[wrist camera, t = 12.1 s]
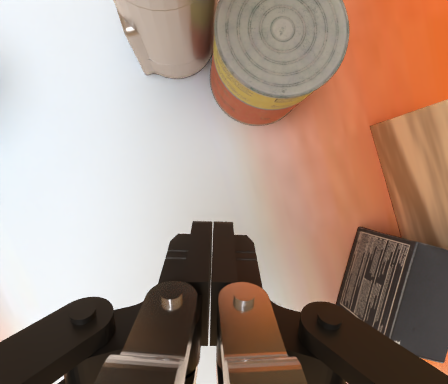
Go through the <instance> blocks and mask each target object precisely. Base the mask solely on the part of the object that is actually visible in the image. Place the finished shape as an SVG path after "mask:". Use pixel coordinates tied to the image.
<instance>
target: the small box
mask: <svg viewBox="0 0 448 384" xmlns="http://www.w3.org/2000/svg"><path fill="white" fill-rule="evenodd" d="M336 305H338V306H340V307H342V308H343V309H345V310H347V311H348V312H350V313H351V314H353V315H354V316H356V317H358V318H359V319H361V320H362V321H364V322H365V323H367V324H368V325H370V326H372V327H373V328H375V329H376V330H378V331H379V332H381V333H382V334H384V335H385V336H387V337H389V338H390V339H392V340H393V341H395V342H396V343H398V344H399V345H401V346H403V347H404V348H406V349H407V350H409V351H410V352H412V353H413V354H415V355H416V356H418V357H420V358H423V359H427V360H431V361H436V362H440V363H444V362H445V358H446V354H447V351H448V250H446V249H443V248H439V247H436V246H432V245H429V244H425V243H422V242H417V241H412V240H408V239H404V238H400V237H396V236H392V235H388V234H384V233H380V232H377V231H373V230H370V229H366V228H363V227H358V230H357V234H356V237H355V240H354V244H353V247H352V251H351V254H350V258H349V261H348V265H347V268H346V272H345V275H344V279H343V282H342V286H341V289H340V293H339V296H338V300H337V303H336Z"/></svg>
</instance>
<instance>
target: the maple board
mask: <svg viewBox="0 0 448 384" xmlns="http://www.w3.org/2000/svg"><path fill="white" fill-rule="evenodd" d="M370 128H371V132H372V135H373V139H374V142H375V146H376V149H377V153H378V156H379V160H380V163H381V167H382V170H383V174H384V177H385V181H386V184H387V188H388V191H389V195H390V198H391V202H392V205H393V209H394V212H395V216H396V219H397V223H398V226H399V230H400V233H401V237H402V238H404V239H408V240H412V241H417V242H422V243H425V244H429V245H432V246H436V247H439V248H443V249H446V250H448V100H445V101H442V102H439V103H436V104H433V105H430V106H427V107H424V108H422V109H419V110H416V111H413V112H410V113H407V114H404V115H401V116H398V117H395V118H393V119H390V120H387V121H384V122H381V123H378V124H375V125H372V126H370Z"/></svg>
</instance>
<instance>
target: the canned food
mask: <svg viewBox="0 0 448 384" xmlns="http://www.w3.org/2000/svg"><path fill="white" fill-rule="evenodd" d="M348 41H349V21H348V15H347V11H346V8H345V5H344V3H343V0H219V2H218V5H217V8H216V13H215V20H214V44H213V56H212V65H211V70H210V85H211V90H212V93H213V96H214V98H215V100H216V102H217V104H218V105H219V107H220V108H221V109H222V110H223V111H224V112H225V113H226V114H227V115H228V116H229V117H231V118H232V119H234V120H236V121H238V122H240V123H243V124H247V125H253V126H262V125H268V124H271V123H274V122H276V121H278V120H280V119H282V118H283V117H284V116H286V115H287V114H288V113H289V112H290V111H291V110H292V109H293V108H294V107H295V106H296V105H298V104H299V103H300V102H301V101H303V100H304V99H305V98H306V97H307V96H309V95H310V94H311V93H312V92H313V91H315V90H317V89H318V88H320V87H321V86H322V85H324V84H325V83H326V82H327V81H328V80H329V79H330V78H331V77H332V76H333V75H334V74H335V72H336V71H337V70H338V68H339V67H340V65H341V63H342V61H343V59H344V56H345V54H346V50H347V46H348Z"/></svg>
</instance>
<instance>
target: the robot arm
mask: <svg viewBox="0 0 448 384" xmlns="http://www.w3.org/2000/svg"><path fill="white" fill-rule="evenodd" d="M113 1H114V3H115V5H116V8H117V11H118V14H119V18H120V21H121V24H122V27H123V30H124V33H125V36H126V38H127V40H128V42H129V44H130V46H131V48H132V49H133V51H134V53H135V55H136V57H137V59H138V61H139V63H140V65H141V67H142V69H143V71H144V73H145V74H146V75H149V74H154V73H155V74H159V75H161V76H164V77H167V78H174V79H176V78H185V77H188V76H191V75H193V74H195V73H197V72H198V71H200V70H201V69H202V68H203V67H204V66H205V65H206V63H207V62H208V61H209V59H210V57H211V55H212V52H213V44H214V20H215V13H216V8H217V5H218V0H113ZM211 258H212V275H211ZM210 285H211V320H210V346H217V350H216V380H217V384H347V383H348V384H448V376H447V375H446V374H444V373H443V372H441V371H440V370H438V369H437V368H435V367H434V366H432V365H430V364H429V363H427V362H426V361H424V360H423V359H421V358H420V357H418V356H416V355H415V354H413V353H412V352H410V351H409V350H407V349H406V348H404V347H403V346H401V345H399V344H398V343H396V342H395V341H393V340H392V339H390V338H389V337H387V336H385V335H384V334H382V333H381V332H379V331H378V330H376V329H375V328H373V327H372V326H370V325H368V324H367V323H365V322H364V321H362V320H361V319H359V318H358V317H356V316H354V315H353V314H351V313H350V312H348V311H347V310H345V309H343V308H342V307H340V306H338V305H335V304H332V303H329V302H312V303H309V304H307V305H306V306H305V307H304V308H303V309H302V311H301V312H297V311H293V310H289V309H286V308H283V307H280V306H278V305H276V304H275V303H273V302H272V301H270V299H269V296H268V294H267V293H266V292H265V291H264V290H263V289H262V283H261V278H260V273H259V268H258V262H257V257H256V253H255V247H254V243H253V242H252V240H251V239H250V238H249V237H248V236H247V235H234V230H233V222H214V228H213V252H212V222H206V221H193V223H192V229H191V234H178V235H176V236H175V237H174V238H173V239H172V240H171V241H170V244H169V248H168V252H167V255H166V259H165V262H164V265H163V269H162V272H161V276H160V279H159V282H158V285H156V286H154V287H153V288H152V289H151V290H150V291H149V292H148V293H147V295H146V297H145V299H144V301H143V302H141V303H139V304H137V305H134V306H130V307H126V308H121V309H117V310H113V306H112V304H111V303H110V302H109V301H108V300H106V299H104V298H100V297H87V298H82V299H78V300H76V301H73V302H71V303H69V304H67V305H66V306H64V307H62V308H60V309H59V310H57V311H55V312H53V313H51V314H50V315H48V316H46V317H44V318H42V319H41V320H39V321H37V322H35V323H34V324H32V325H30V326H28V327H26V328H25V329H23V330H21V331H19V332H18V333H16V334H14V335H12V336H10V337H9V338H7V339H5V340H3V341H1V342H0V384H52V383H54V382H55V381H56V380H58V379H59V378H60V377H62V376H63V375H64V379H63V380H62V381H61V382H59V383H58V384H196V378H197V370H198V363H199V359H200V348H201V346H208V329H209V307H210ZM346 382H347V383H346Z"/></svg>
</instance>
